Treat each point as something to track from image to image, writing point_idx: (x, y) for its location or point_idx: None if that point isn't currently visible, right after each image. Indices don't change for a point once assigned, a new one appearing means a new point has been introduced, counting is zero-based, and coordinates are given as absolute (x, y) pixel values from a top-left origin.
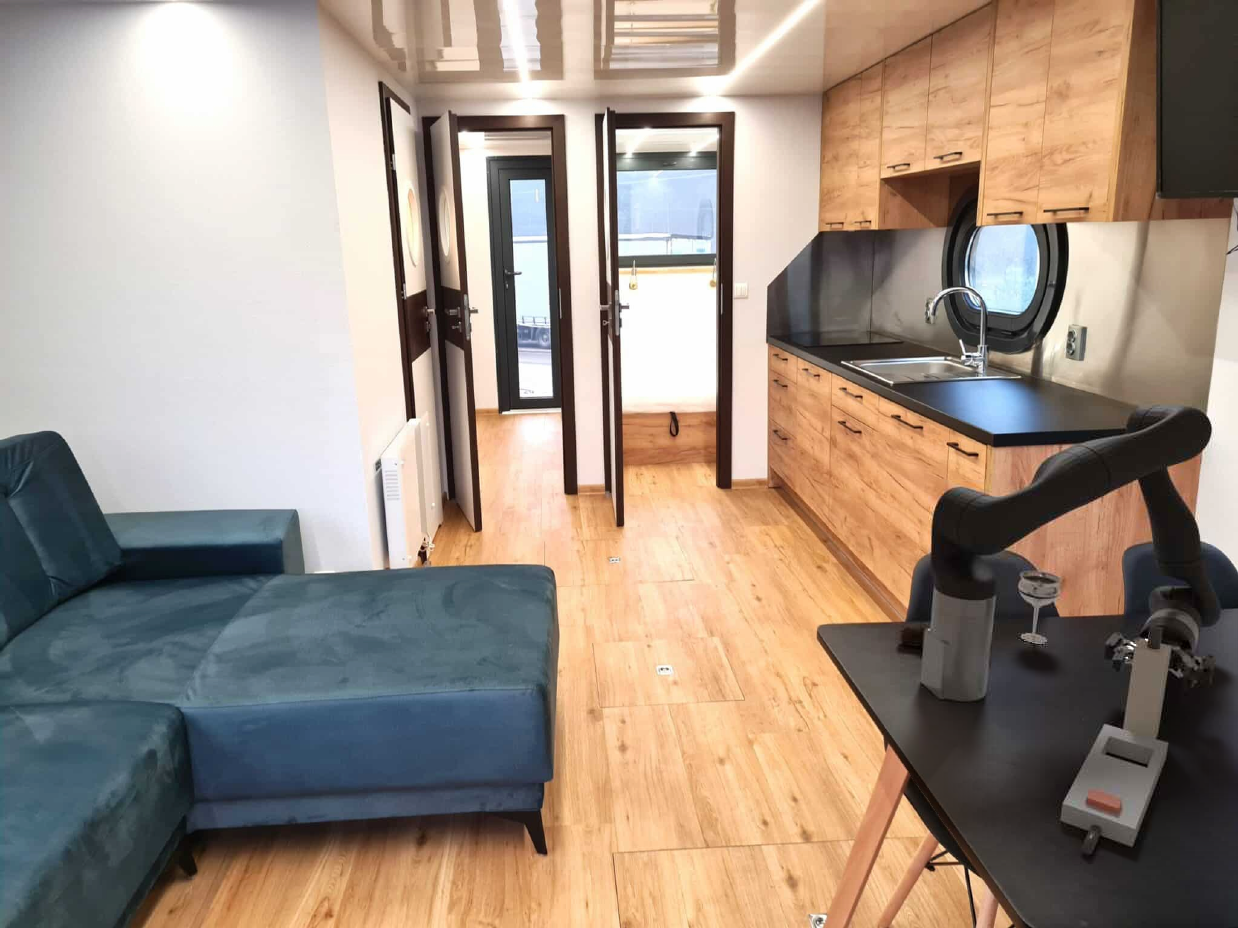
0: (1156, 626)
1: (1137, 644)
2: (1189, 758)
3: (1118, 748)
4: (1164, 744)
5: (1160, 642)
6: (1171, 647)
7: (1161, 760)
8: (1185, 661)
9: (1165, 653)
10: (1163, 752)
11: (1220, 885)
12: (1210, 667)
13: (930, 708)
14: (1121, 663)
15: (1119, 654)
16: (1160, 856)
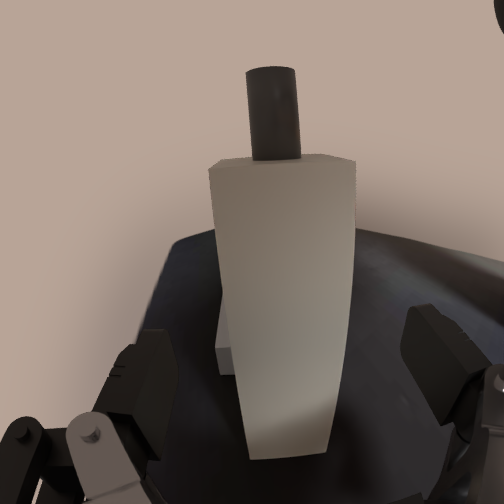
0: (273, 69)
1: (329, 156)
2: (179, 397)
3: None
4: (221, 340)
5: (250, 131)
6: (209, 177)
7: (221, 303)
8: (126, 478)
9: (227, 160)
10: (220, 319)
11: (173, 252)
12: (14, 429)
13: (498, 283)
14: (408, 316)
15: (458, 334)
16: (213, 252)
